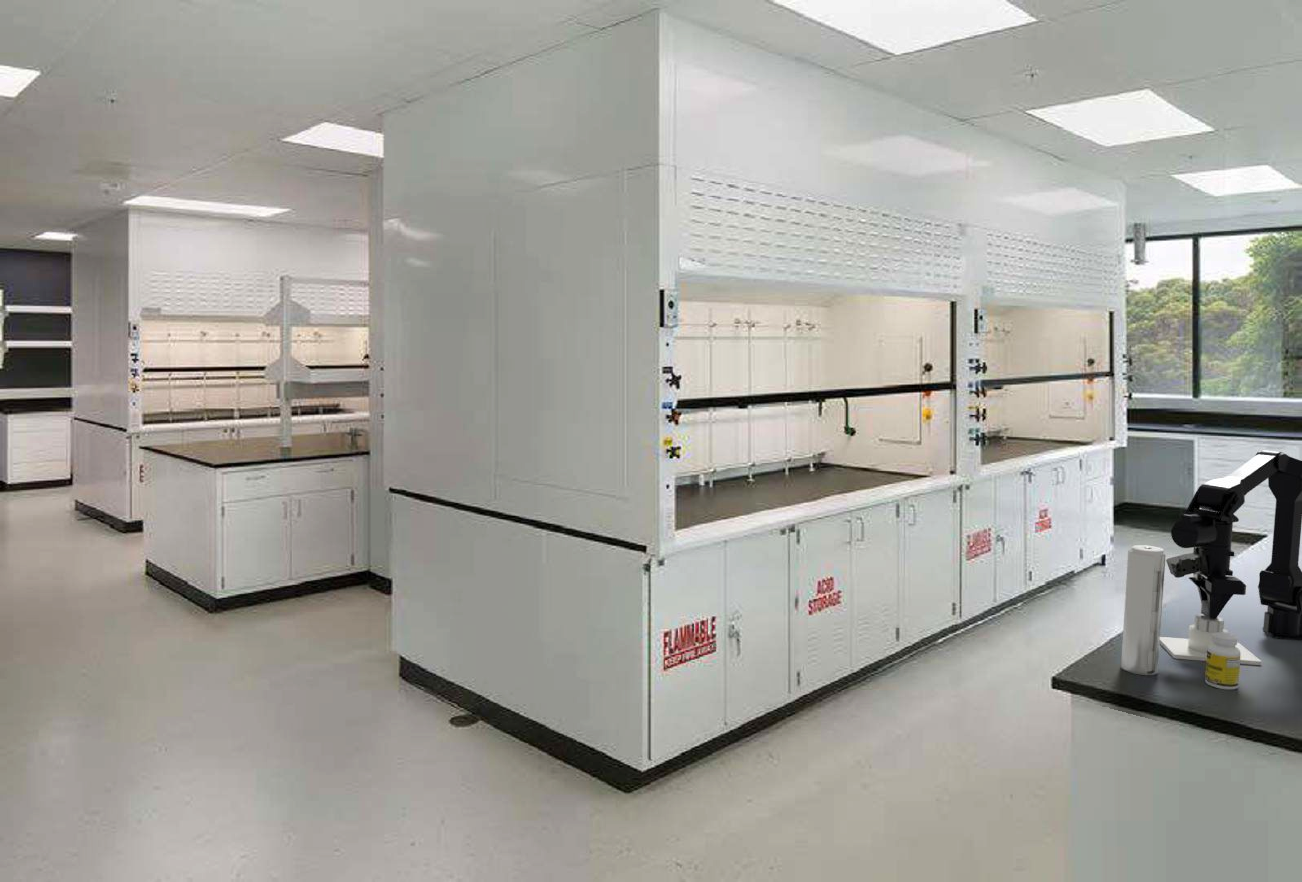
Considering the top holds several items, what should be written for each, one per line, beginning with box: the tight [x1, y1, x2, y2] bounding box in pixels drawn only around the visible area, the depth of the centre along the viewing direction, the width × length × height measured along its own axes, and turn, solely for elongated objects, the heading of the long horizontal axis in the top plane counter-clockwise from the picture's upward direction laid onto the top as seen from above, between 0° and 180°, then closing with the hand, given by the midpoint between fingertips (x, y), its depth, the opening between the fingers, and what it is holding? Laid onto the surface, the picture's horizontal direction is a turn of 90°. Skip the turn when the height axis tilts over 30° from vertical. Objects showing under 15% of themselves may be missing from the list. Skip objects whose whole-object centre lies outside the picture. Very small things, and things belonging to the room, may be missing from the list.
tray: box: [1160, 636, 1263, 666], centre depth 189 cm, size 16×12×1 cm
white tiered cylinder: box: [1187, 613, 1229, 653], centre depth 189 cm, size 7×7×7 cm
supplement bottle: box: [1204, 632, 1241, 691], centre depth 170 cm, size 5×5×10 cm
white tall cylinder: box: [1120, 544, 1166, 676], centre depth 178 cm, size 6×6×25 cm
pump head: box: [1200, 600, 1220, 620], centre depth 189 cm, size 3×3×6 cm
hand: (1209, 616), depth 189 cm, fingers closed on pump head, 3 cm apart
